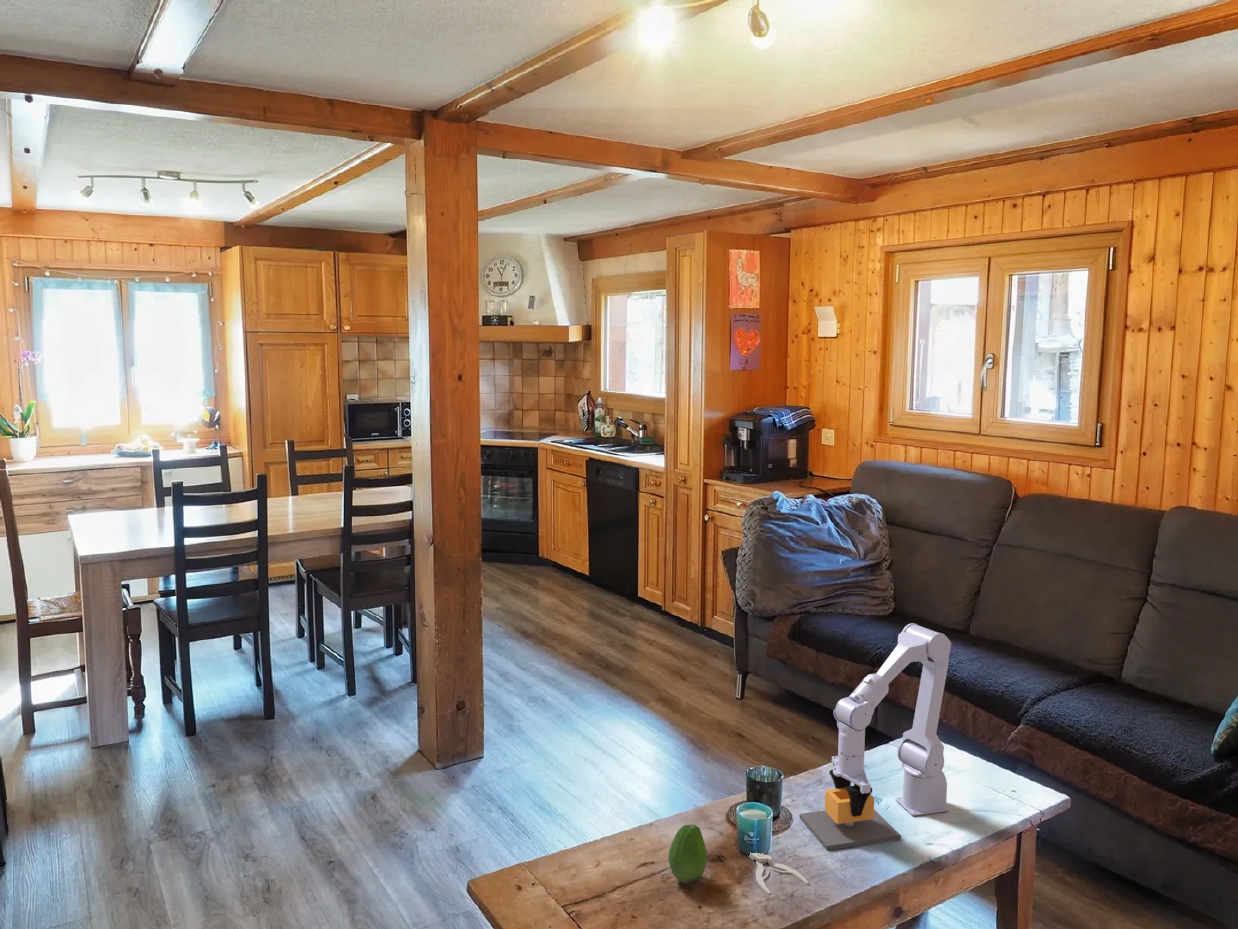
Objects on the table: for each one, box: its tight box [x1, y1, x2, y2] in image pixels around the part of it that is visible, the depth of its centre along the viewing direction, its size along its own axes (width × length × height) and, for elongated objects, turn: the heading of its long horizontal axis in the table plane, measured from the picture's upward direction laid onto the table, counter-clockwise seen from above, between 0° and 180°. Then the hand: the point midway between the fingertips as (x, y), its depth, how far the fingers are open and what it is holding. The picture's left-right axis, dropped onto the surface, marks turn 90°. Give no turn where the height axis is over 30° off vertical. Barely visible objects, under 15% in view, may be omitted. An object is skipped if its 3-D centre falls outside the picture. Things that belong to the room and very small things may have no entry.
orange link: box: [824, 788, 875, 824], centre depth 202 cm, size 9×6×5 cm, turn 104°
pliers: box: [748, 852, 809, 895], centre depth 187 cm, size 10×2×15 cm
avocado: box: [668, 823, 708, 884], centre depth 183 cm, size 8×8×12 cm
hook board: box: [799, 809, 902, 851], centre depth 203 cm, size 18×14×6 cm
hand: (849, 808), depth 203 cm, fingers closed on orange link, 6 cm apart
